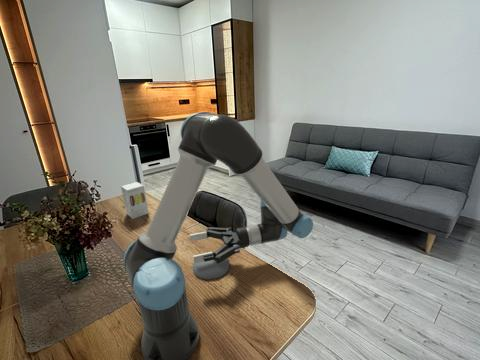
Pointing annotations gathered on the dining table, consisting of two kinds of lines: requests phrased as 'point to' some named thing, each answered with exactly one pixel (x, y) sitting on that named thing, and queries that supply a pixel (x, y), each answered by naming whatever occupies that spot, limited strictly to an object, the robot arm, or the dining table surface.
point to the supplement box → (135, 200)
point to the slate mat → (210, 269)
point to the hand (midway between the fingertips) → (191, 248)
